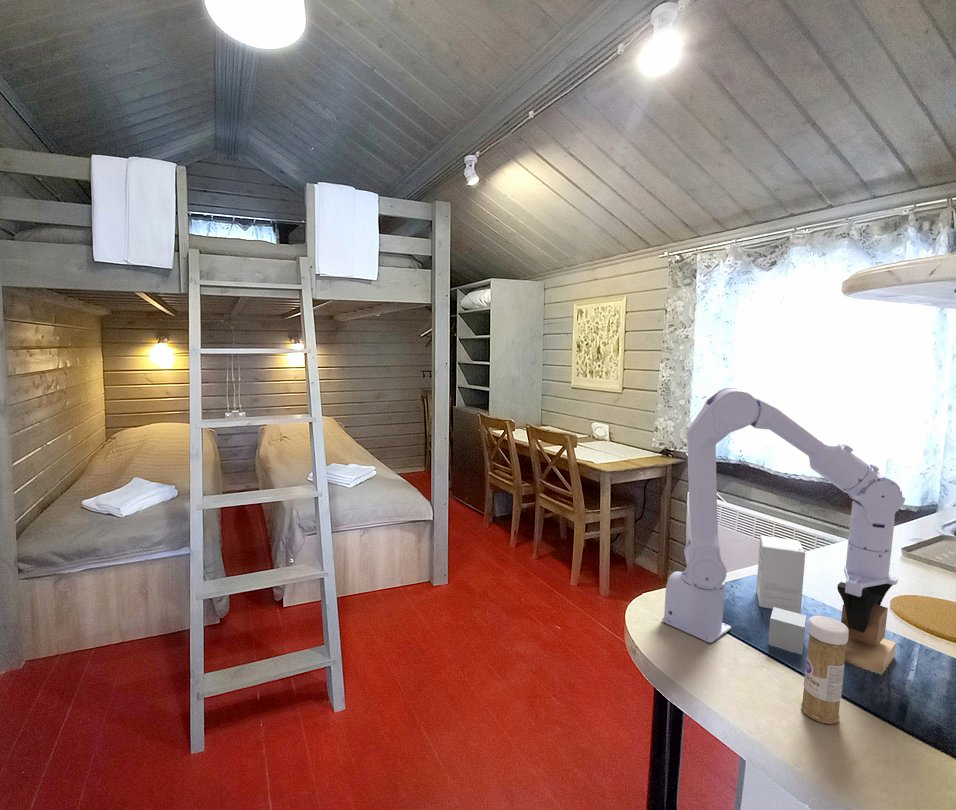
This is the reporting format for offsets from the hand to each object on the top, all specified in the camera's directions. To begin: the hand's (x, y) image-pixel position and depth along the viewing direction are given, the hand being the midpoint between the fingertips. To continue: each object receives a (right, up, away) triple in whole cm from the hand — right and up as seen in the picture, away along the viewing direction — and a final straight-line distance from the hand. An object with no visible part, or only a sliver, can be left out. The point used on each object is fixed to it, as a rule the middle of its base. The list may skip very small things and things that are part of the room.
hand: (861, 624), depth 86 cm
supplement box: (-3, -4, +19) cm, 19 cm away
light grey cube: (-10, -5, +4) cm, 12 cm away
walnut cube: (0, -2, 0) cm, 2 cm away
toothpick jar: (-16, -7, -14) cm, 23 cm away
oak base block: (0, -6, +1) cm, 6 cm away
